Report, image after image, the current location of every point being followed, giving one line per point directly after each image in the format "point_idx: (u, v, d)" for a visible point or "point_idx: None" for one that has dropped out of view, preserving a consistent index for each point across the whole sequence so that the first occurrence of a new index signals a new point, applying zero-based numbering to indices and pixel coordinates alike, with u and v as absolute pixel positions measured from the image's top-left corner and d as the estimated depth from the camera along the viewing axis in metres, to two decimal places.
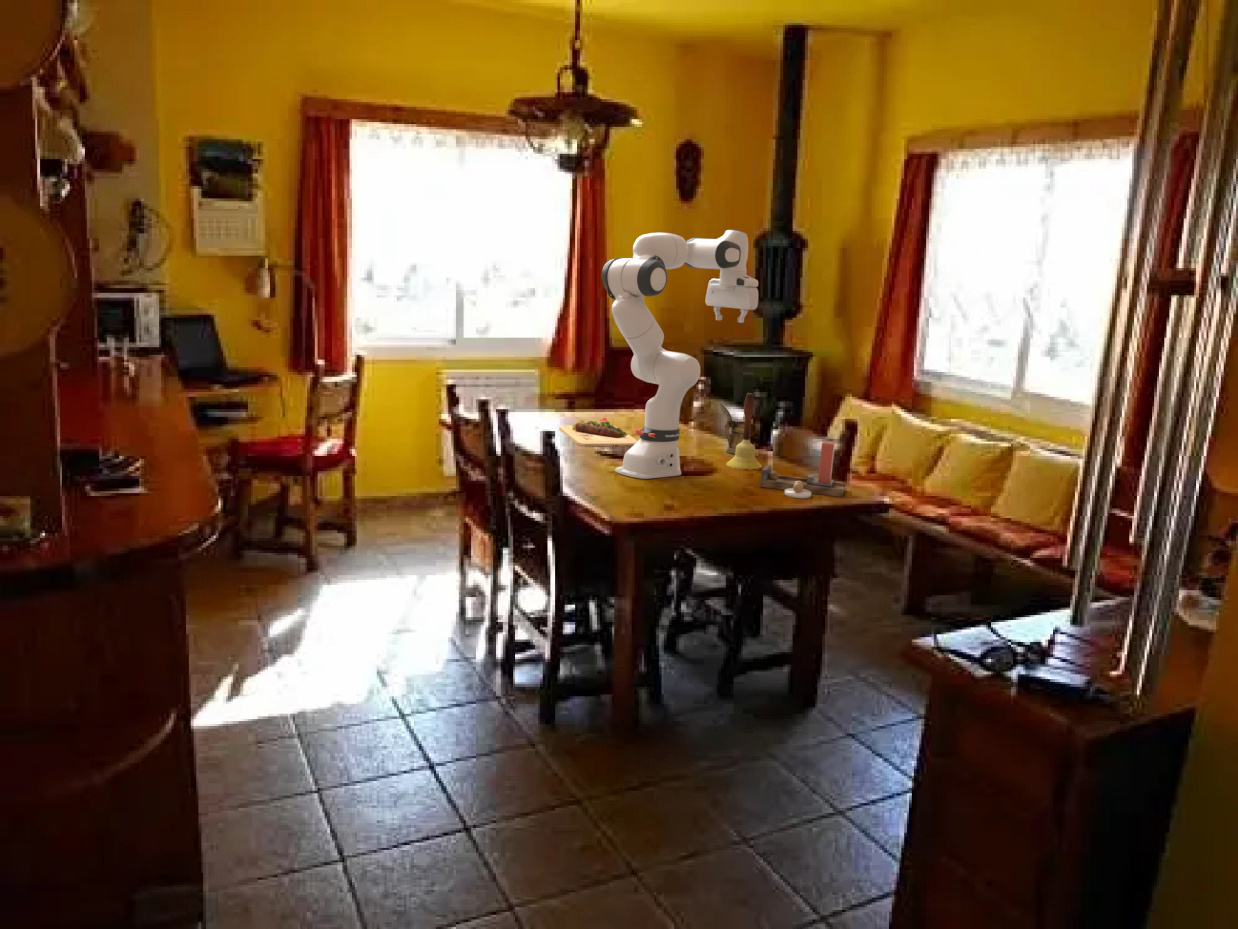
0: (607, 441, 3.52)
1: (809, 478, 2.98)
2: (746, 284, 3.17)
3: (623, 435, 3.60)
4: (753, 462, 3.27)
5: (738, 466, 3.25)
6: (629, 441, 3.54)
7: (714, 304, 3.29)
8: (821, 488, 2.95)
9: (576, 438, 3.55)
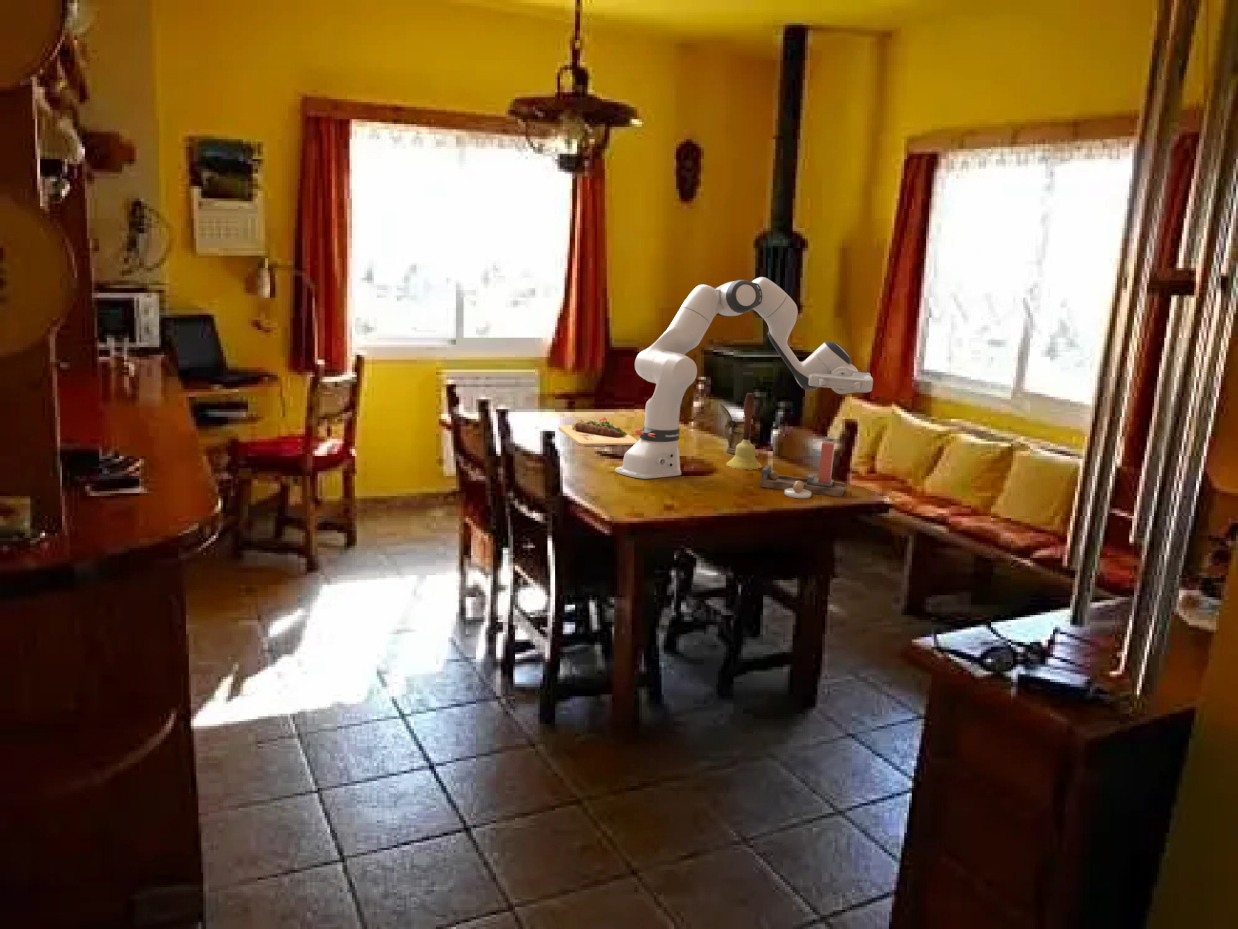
0: (607, 441, 3.53)
1: (809, 478, 2.98)
2: (869, 373, 3.13)
3: (623, 435, 3.61)
4: (753, 462, 3.27)
5: (738, 466, 3.25)
6: (629, 441, 3.55)
7: (822, 375, 3.11)
8: (821, 488, 2.95)
9: (576, 438, 3.56)
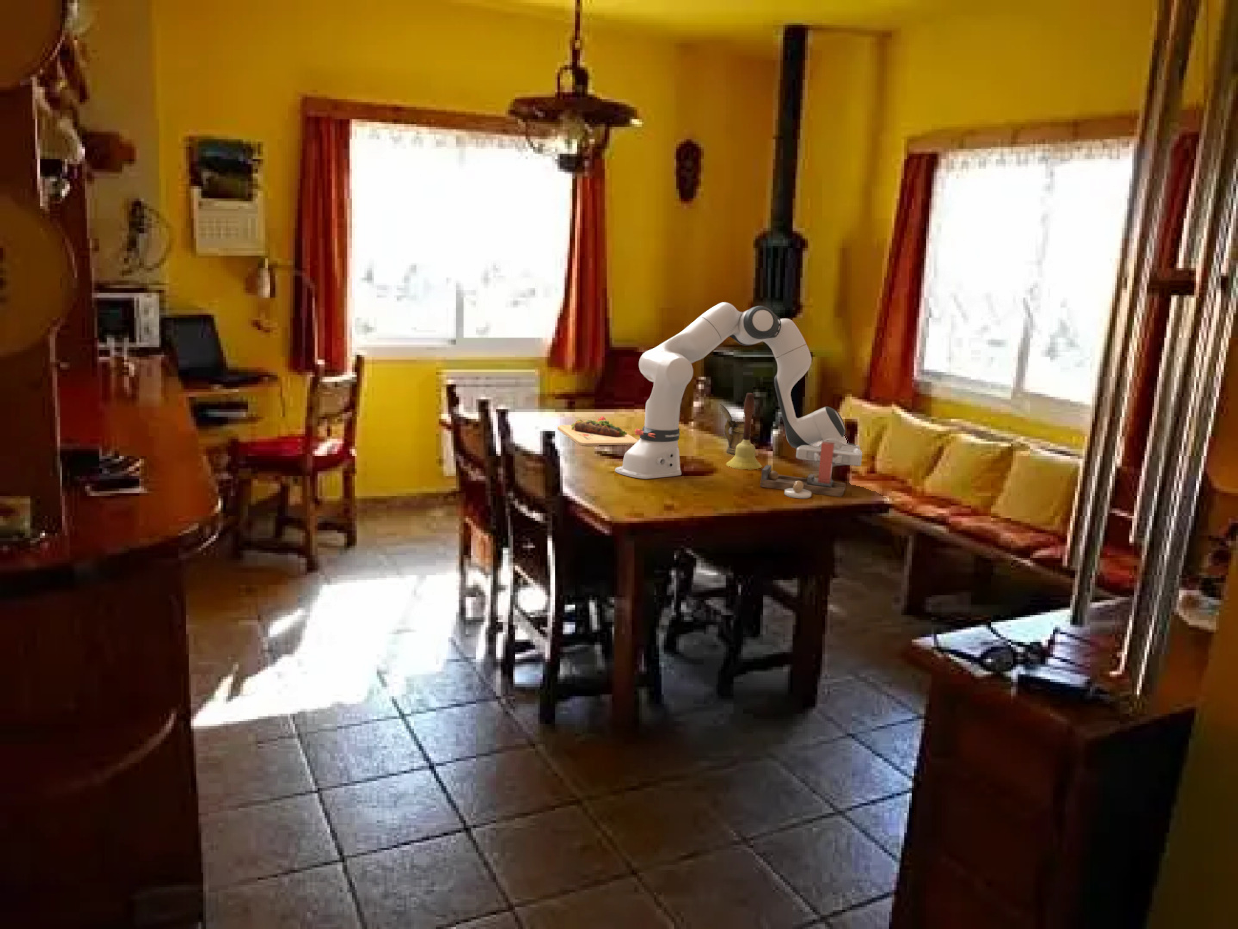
0: (607, 440, 3.53)
1: (809, 478, 2.98)
2: (858, 446, 3.06)
3: (623, 434, 3.62)
4: (753, 462, 3.27)
5: (738, 466, 3.25)
6: (629, 440, 3.56)
7: (810, 449, 3.03)
8: (821, 488, 2.95)
9: (576, 438, 3.56)
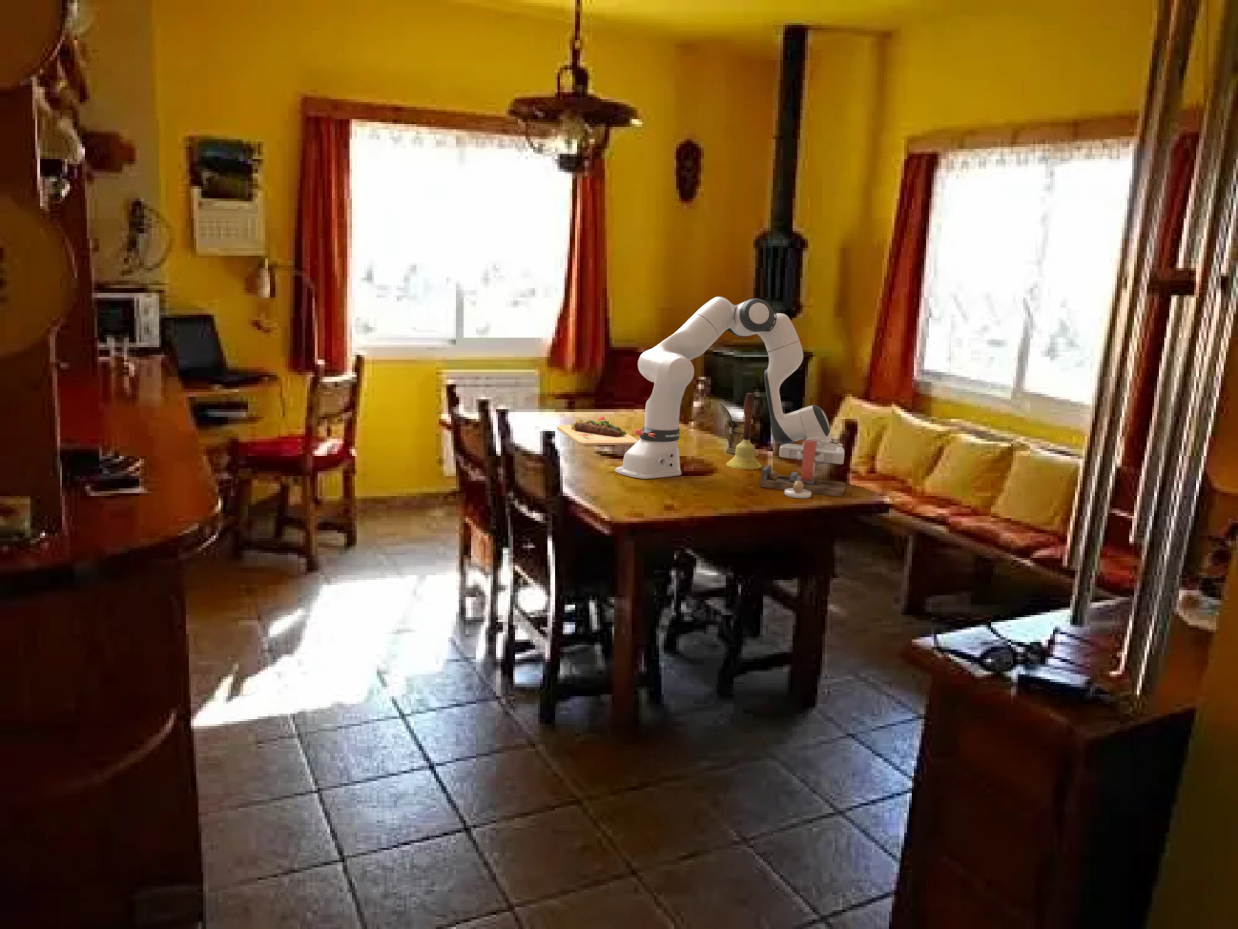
0: (607, 440, 3.54)
1: (792, 476, 3.00)
2: (841, 444, 3.07)
3: (623, 434, 3.62)
4: (753, 462, 3.27)
5: (738, 466, 3.25)
6: (629, 440, 3.56)
7: (793, 447, 3.05)
8: (821, 488, 2.95)
9: (576, 437, 3.56)
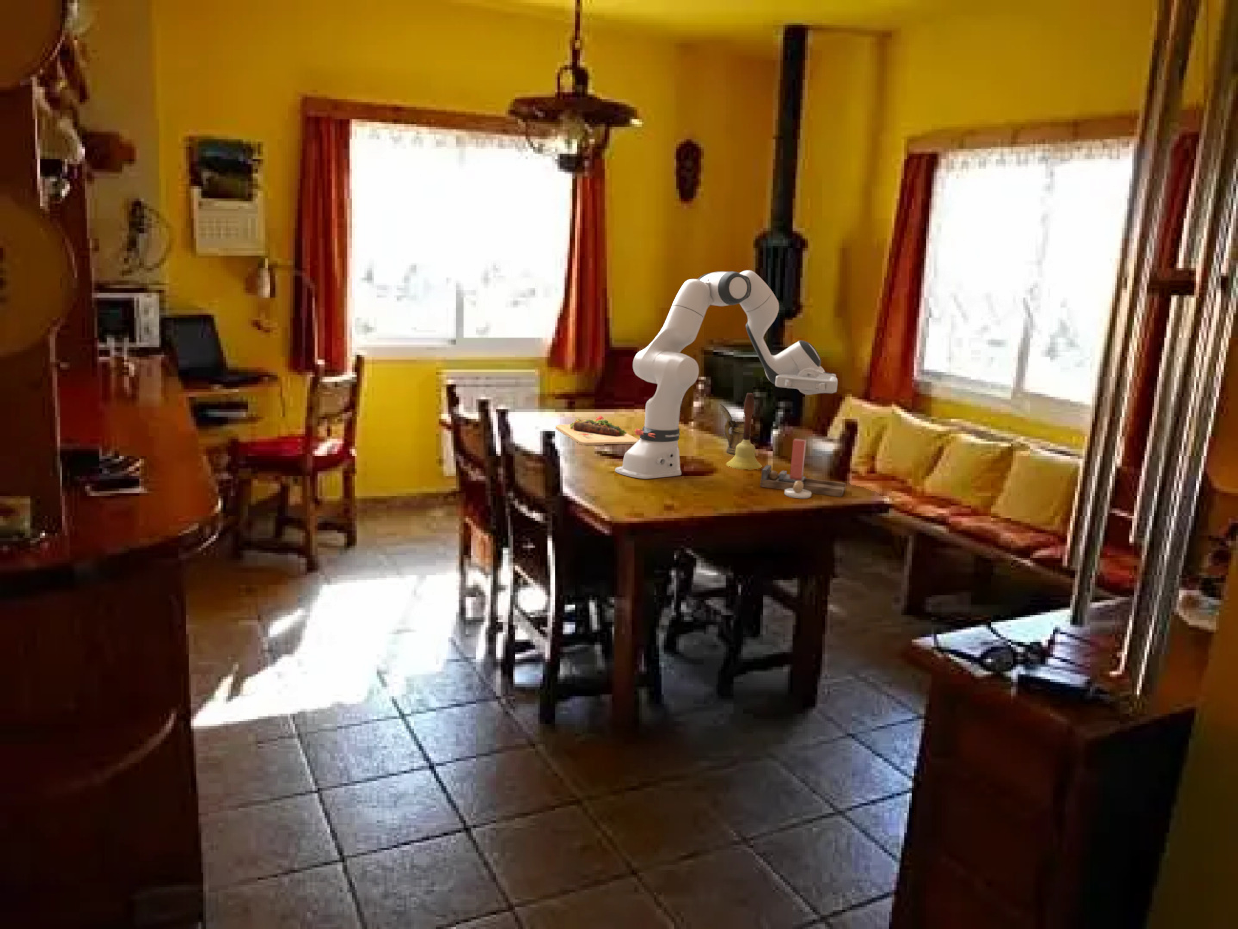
0: (608, 440, 3.55)
1: (781, 475, 3.01)
2: (834, 374, 3.21)
3: (622, 433, 3.63)
4: (753, 462, 3.27)
5: (738, 466, 3.25)
6: (629, 439, 3.58)
7: (788, 377, 3.18)
8: (821, 488, 2.95)
9: (576, 437, 3.57)
